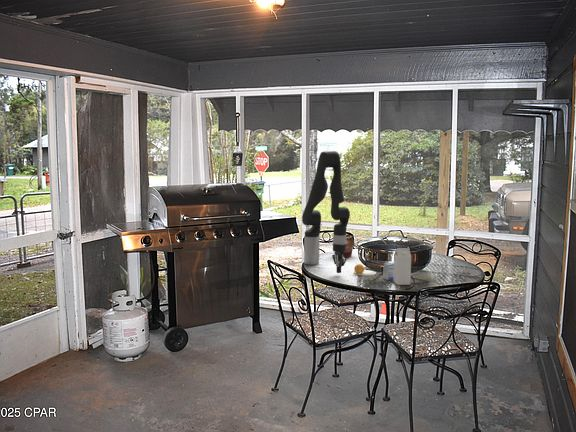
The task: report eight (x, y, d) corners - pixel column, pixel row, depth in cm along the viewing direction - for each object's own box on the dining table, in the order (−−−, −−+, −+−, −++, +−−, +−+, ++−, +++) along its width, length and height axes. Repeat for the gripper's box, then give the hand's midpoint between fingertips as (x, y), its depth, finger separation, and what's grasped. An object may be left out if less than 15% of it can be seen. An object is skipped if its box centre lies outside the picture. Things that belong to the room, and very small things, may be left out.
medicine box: (387, 280, 273) (388, 264, 272) (382, 278, 277) (383, 263, 276) (399, 278, 277) (399, 263, 276) (393, 277, 281) (394, 261, 280)
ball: (359, 273, 290) (351, 271, 288) (361, 264, 290) (354, 262, 288) (364, 275, 285) (356, 273, 283) (367, 266, 285) (359, 264, 283)
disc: (349, 271, 292) (349, 270, 292) (368, 269, 297) (368, 269, 297) (360, 276, 280) (360, 276, 280) (380, 274, 285) (380, 274, 285)
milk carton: (393, 281, 271) (394, 247, 268) (405, 281, 272) (407, 247, 269) (397, 285, 264) (398, 249, 261) (410, 284, 265) (411, 249, 262)
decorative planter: (339, 252, 346) (340, 232, 344) (356, 253, 342) (357, 233, 340) (331, 257, 328) (332, 237, 326) (349, 259, 323) (350, 238, 321)
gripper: (328, 240, 285) (327, 270, 287) (339, 245, 272) (338, 276, 275) (339, 240, 287) (339, 269, 290) (351, 244, 275) (350, 275, 278)
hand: (338, 272), depth 282 cm, fingers closed
